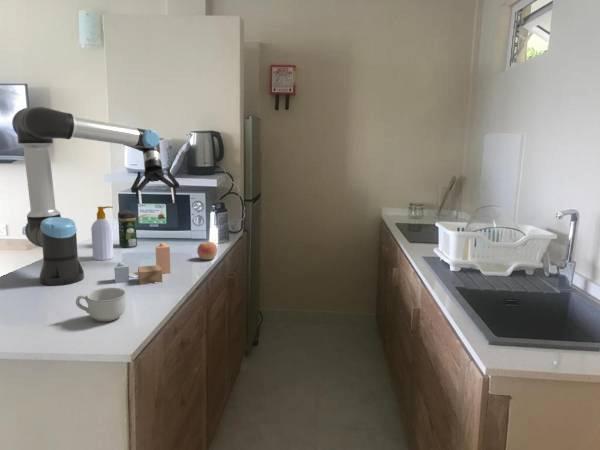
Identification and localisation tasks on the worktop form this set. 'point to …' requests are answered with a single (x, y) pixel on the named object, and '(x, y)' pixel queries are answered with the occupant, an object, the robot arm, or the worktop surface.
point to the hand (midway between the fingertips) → (157, 203)
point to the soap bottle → (102, 237)
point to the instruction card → (133, 274)
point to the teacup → (104, 303)
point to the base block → (149, 274)
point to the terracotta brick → (163, 257)
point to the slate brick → (121, 272)
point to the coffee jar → (127, 229)
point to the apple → (207, 250)
